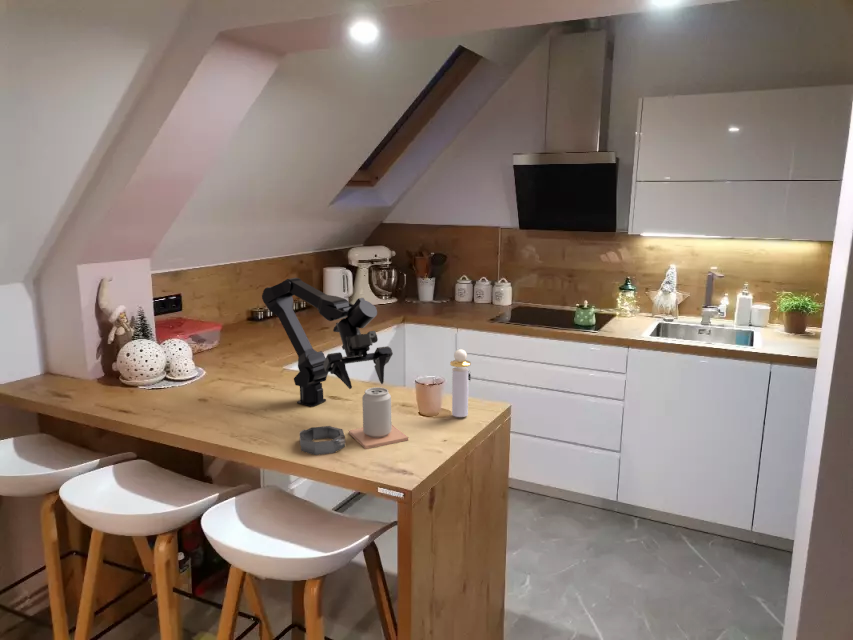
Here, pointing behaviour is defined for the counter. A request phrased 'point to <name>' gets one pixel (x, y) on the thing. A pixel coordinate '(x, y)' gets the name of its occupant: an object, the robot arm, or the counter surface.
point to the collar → (322, 446)
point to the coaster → (375, 442)
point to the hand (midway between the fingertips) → (366, 385)
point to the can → (377, 412)
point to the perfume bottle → (460, 383)
